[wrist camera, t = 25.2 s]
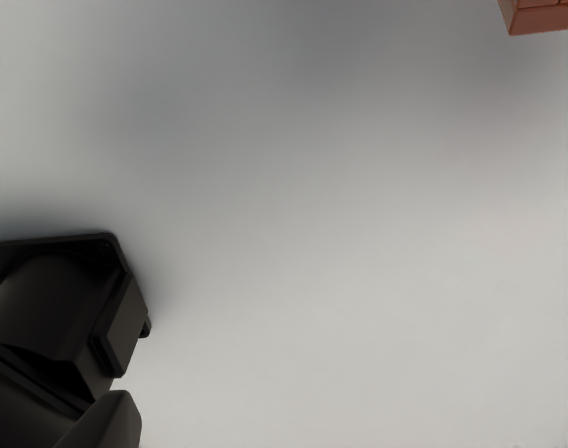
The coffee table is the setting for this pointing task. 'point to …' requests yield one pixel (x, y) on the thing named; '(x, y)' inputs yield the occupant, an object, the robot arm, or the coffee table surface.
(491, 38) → the coffee table surface
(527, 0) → the orange handled tray
